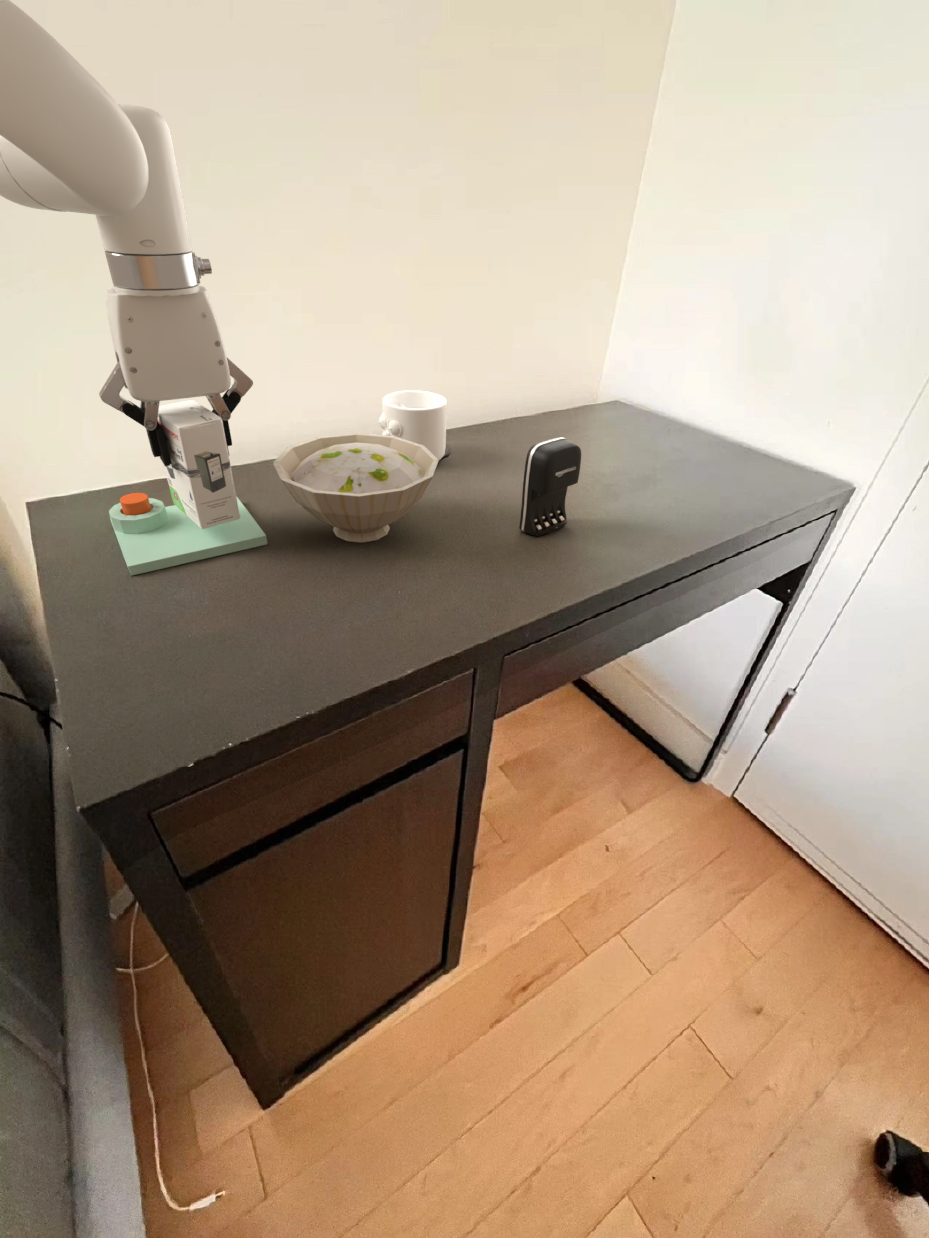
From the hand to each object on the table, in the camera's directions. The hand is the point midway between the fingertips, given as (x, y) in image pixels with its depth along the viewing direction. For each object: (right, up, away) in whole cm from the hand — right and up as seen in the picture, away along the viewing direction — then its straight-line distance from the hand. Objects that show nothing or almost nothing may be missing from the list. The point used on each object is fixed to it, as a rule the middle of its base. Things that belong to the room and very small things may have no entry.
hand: (194, 455), depth 69 cm
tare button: (-9, -6, +4) cm, 11 cm away
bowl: (+17, -7, +9) cm, 21 cm away
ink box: (0, -6, +4) cm, 7 cm away
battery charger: (+41, -7, +11) cm, 43 cm away
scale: (-3, -8, +5) cm, 10 cm away
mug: (+21, +8, +29) cm, 37 cm away
